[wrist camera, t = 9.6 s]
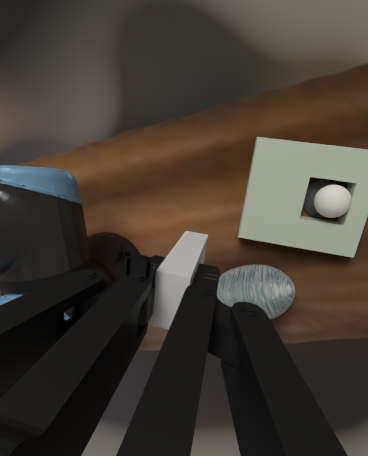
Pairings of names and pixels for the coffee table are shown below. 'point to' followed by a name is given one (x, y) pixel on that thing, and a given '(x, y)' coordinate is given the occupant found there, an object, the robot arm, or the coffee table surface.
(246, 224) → the green board
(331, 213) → the ball
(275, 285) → the grey streaked egg
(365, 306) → the coffee table surface
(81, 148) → the coffee table surface
